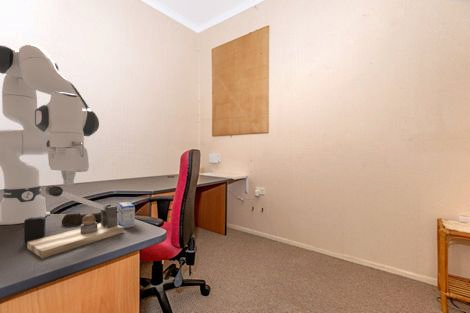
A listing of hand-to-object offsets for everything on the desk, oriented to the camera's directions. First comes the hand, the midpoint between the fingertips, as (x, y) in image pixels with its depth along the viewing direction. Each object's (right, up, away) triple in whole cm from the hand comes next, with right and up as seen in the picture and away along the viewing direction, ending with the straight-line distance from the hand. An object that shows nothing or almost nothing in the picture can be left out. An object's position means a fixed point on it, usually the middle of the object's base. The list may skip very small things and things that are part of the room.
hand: (68, 184), depth 74 cm
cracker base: (+1, -19, +3) cm, 19 cm away
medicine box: (+10, -19, +18) cm, 28 cm away
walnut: (+3, -15, +6) cm, 16 cm away
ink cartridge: (-12, -19, +1) cm, 23 cm away
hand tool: (-7, -19, +21) cm, 30 cm away
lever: (+2, -7, +3) cm, 8 cm away
